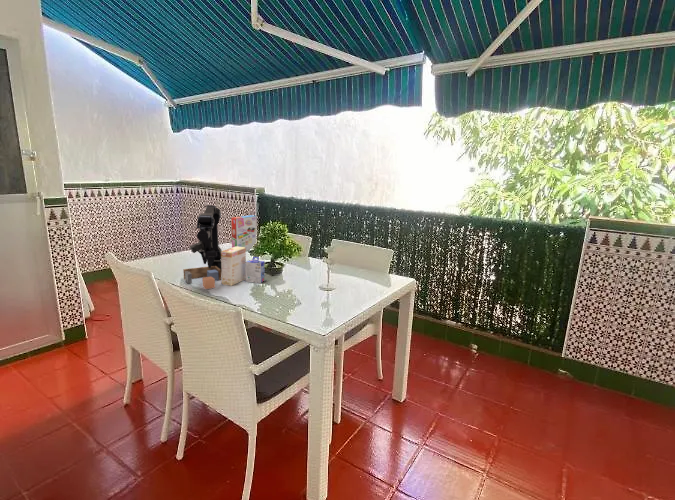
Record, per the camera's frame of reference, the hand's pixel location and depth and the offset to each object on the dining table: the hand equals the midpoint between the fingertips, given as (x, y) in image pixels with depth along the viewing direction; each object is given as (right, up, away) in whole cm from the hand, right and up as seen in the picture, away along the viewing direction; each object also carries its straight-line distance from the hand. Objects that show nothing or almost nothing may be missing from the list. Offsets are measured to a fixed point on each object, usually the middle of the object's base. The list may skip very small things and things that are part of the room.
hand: (207, 265), depth 205 cm
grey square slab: (-14, -10, +9) cm, 19 cm away
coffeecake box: (+11, -10, +14) cm, 20 cm away
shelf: (-8, -9, +15) cm, 19 cm away
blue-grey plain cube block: (-2, -9, +17) cm, 19 cm away
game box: (-2, +8, +91) cm, 92 cm away
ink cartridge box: (+23, -10, +16) cm, 30 cm away
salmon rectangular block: (0, -12, +3) cm, 12 cm away
